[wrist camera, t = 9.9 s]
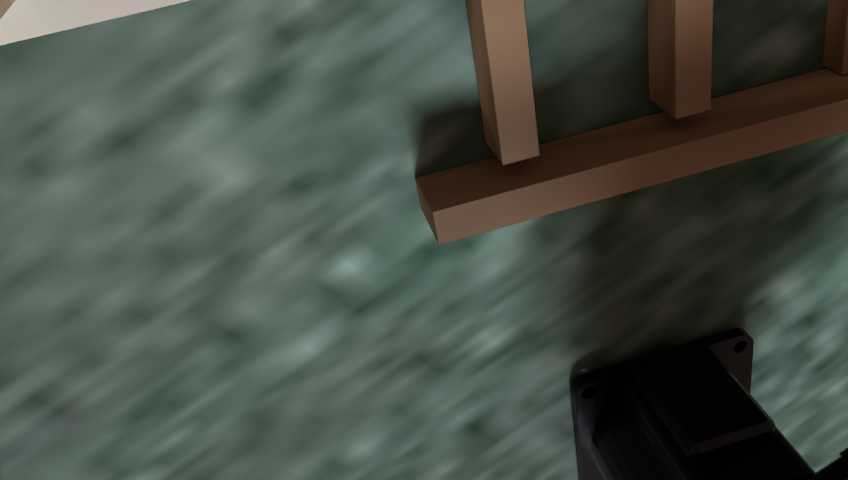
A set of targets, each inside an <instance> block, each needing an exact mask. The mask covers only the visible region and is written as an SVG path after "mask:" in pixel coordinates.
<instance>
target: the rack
mask: <svg viewBox="0 0 848 480" xmlns="http://www.w3.org/2000/svg"><path fill="white" fill-rule="evenodd" d="M466 7H467V14H468V21H469V28H470V35H471V42H472V49H473V56H474V63H475V70H476V77H477V84H478V91H479V98H480V105H481V112H482V119H483V126H484V133H485V140H486V143H487V145H488V146H489V147H490V149H491V150H492V151H493V153H494V154H495V155H496V156H495V157H492V158H488V159H484V160H480V161H477V162H473V163H469V164H465V165H462V166H458V167H454V168H450V169H447V170H443V171H439V172H435V173H432V174H428V175H424V176H420V177H417V178H415V179H416V184H417V189H418V194H419V199H420V204H421V209H422V211H423V213H424V215H425V217H426V219H427V221H428V223H429V225H430V228H431V230H432V232H433V234H434V236H435V238H436V240H437V242H438V244H439V245H440V244H443V243H447V242H451V241H454V240H458V239H462V238H465V237H469V236H472V235H476V234H480V233H483V232H487V231H490V230H494V229H498V228H501V227H505V226H508V225H512V224H516V223H519V222H523V221H526V220H530V219H534V218H537V217H541V216H544V215H548V214H552V213H555V212H559V211H562V210H566V209H570V208H573V207H577V206H581V205H584V204H588V203H591V202H595V201H599V200H602V199H606V198H609V197H613V196H617V195H620V194H624V193H627V192H631V191H635V190H638V189H642V188H645V187H649V186H653V185H656V184H660V183H663V182H667V181H671V180H674V179H678V178H681V177H685V176H689V175H692V174H696V173H699V172H703V171H707V170H710V169H714V168H718V167H721V166H725V165H728V164H732V163H736V162H739V161H743V160H746V159H750V158H754V157H757V156H761V155H764V154H768V153H772V152H775V151H779V150H782V149H786V148H790V147H793V146H797V145H800V144H804V143H808V142H811V141H815V140H818V139H822V138H826V137H829V136H833V135H837V134H840V133H844V132H847V131H848V73H845V74H840V73H838V72H836V71H834V70H832V69H830V68H824V69H821V70H817V71H813V72H810V73H806V74H802V75H798V76H795V77H791V78H787V79H783V80H780V81H776V82H772V83H768V84H765V85H761V86H757V87H753V88H750V89H746V90H742V91H738V92H735V93H731V94H727V95H723V96H720V97H716V98H712V99H711V73H712V32H713V0H647V11H648V61H649V99H650V100H651V101H653V102H654V103H655V104H657V105H658V106H659V107H661V108H662V109H663V110H664V112H660V113H656V114H652V115H649V116H645V117H641V118H637V119H634V120H630V121H626V122H622V123H619V124H615V125H611V126H608V127H604V128H600V129H596V130H593V131H589V132H585V133H581V134H578V135H574V136H570V137H566V138H563V139H559V140H555V141H551V142H548V143H544V144H540V145H538V135H537V126H536V116H535V106H534V97H533V87H532V78H531V68H530V58H529V49H528V39H527V29H526V20H525V10H524V1H523V0H466Z"/></svg>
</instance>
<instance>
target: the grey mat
mask: <svg viewBox="0 0 848 480" xmlns="http://www.w3.org/2000/svg"><path fill="white" fill-rule="evenodd" d="M186 1H191V0H15V2H14V3H13V4H12V5H11V7H10V8H9V9H8V10H7V12H6V13H5V14H4V16H3V17H2V18H1V19H0V45H4V44H8V43H13V42H17V41H21V40H25V39H29V38H34V37H38V36H42V35H46V34H51V33H55V32H59V31H63V30H68V29H72V28H76V27H80V26H85V25H89V24H93V23H97V22H102V21H106V20H110V19H114V18H118V17H123V16H127V15H131V14H135V13H140V12H144V11H148V10H152V9H157V8H161V7H165V6H169V5H174V4H178V3H182V2H186Z"/></svg>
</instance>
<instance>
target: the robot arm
mask: <svg viewBox="0 0 848 480" xmlns="http://www.w3.org/2000/svg"><path fill="white" fill-rule="evenodd" d="M752 358H753V339H752V338H751V337H750V336H749V335H748V333H747V332H746V331H745V330H744V329H740V328H737V329H732V330H729V331H726V332H722V333H719V334H716V335H712V336H709V337H706V338H702V339H699V340H696V341H692V342H689V343H686V344H682V345H679V346H676V347H672V348H669V349H666V350H662V351H659V352H656V353H653V354H649V355H646V356H643V357H639V358H636V359H633V360H629V361H626V362H623V363H619V364H616V365H613V366H609V367H606V368H603V369H599V370H596V371H593V372H589V373H586V374H583V375H581V376H579V377H577V378H576V379H575V380H574V381H573V383H572V385H571V397H572V407H573V417H574V428H575V438H576V448H577V458H578V468H579V479H580V480H848V448H847V449H845V450H844V451H842V452H841V453H839V454H840V456H841V457H839V458H838V459H836V460H835V461H833V462H832V463H830V464H829V465H827V466H826V467H824V468H823V469H821V470H820V471H818V472H817V473H815V472H814V470H813V469H812V468H811V467H810V466H809V465H808V463H807V462H806V461H805V460H804V459H803V458H802V456H801V455H800V454H799V453H798V452H797V451H796V449H795V448H794V447H793V446H792V445H791V444H790V442H789V441H788V440H787V439H786V438H785V437H784V436H783V434H782V433H781V432H780V431H779V430H778V429H777V427H776V426H775V424H774V421H773V420H772V419H771V418H770V417H769V415H768V414H767V413H766V412H765V411H764V410H763V409H762V407H761V406H760V405H759V404H758V403H757V402H756V400H755V399H754V398H753V397H752V396H751V395H750V387H751V373H752ZM588 387H590V388H589V389H587V390H585V389H586V388H588ZM584 390H585V391H584Z"/></svg>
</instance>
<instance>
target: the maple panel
mask: <svg viewBox="0 0 848 480" xmlns="http://www.w3.org/2000/svg"><path fill="white" fill-rule="evenodd" d="M14 2H15V0H0V19H1V18H2V17H3V16H4V14H5V13H6V12H7V10H8V9H9V8H10V7H11V5H12V4H13V3H14Z"/></svg>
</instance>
